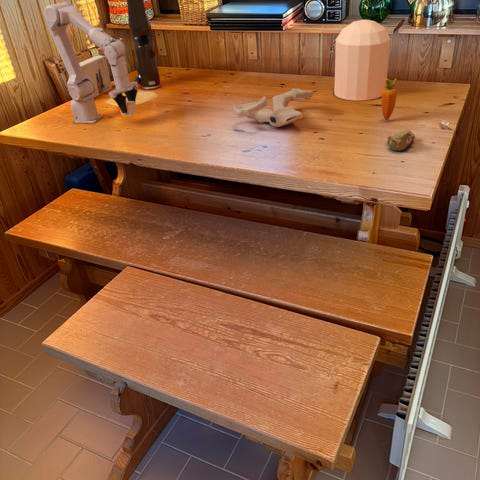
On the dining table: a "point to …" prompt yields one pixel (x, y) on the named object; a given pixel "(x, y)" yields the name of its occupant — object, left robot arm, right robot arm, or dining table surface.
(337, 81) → the container
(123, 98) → the left robot arm
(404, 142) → the rock
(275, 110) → the animal horns
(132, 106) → the pale beige block
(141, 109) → the dining table surface
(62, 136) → the dining table surface
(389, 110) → the carrot
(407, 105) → the dining table surface
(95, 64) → the skincare box
